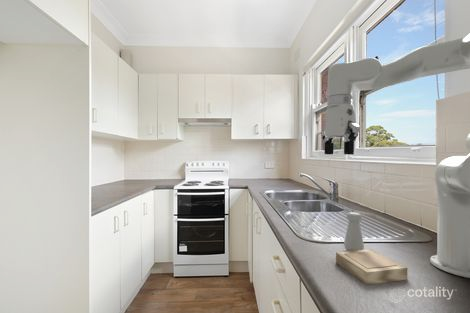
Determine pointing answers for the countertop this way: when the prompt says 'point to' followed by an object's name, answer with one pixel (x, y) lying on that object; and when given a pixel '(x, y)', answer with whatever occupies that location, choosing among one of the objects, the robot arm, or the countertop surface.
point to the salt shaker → (353, 233)
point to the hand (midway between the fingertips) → (338, 154)
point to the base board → (371, 266)
